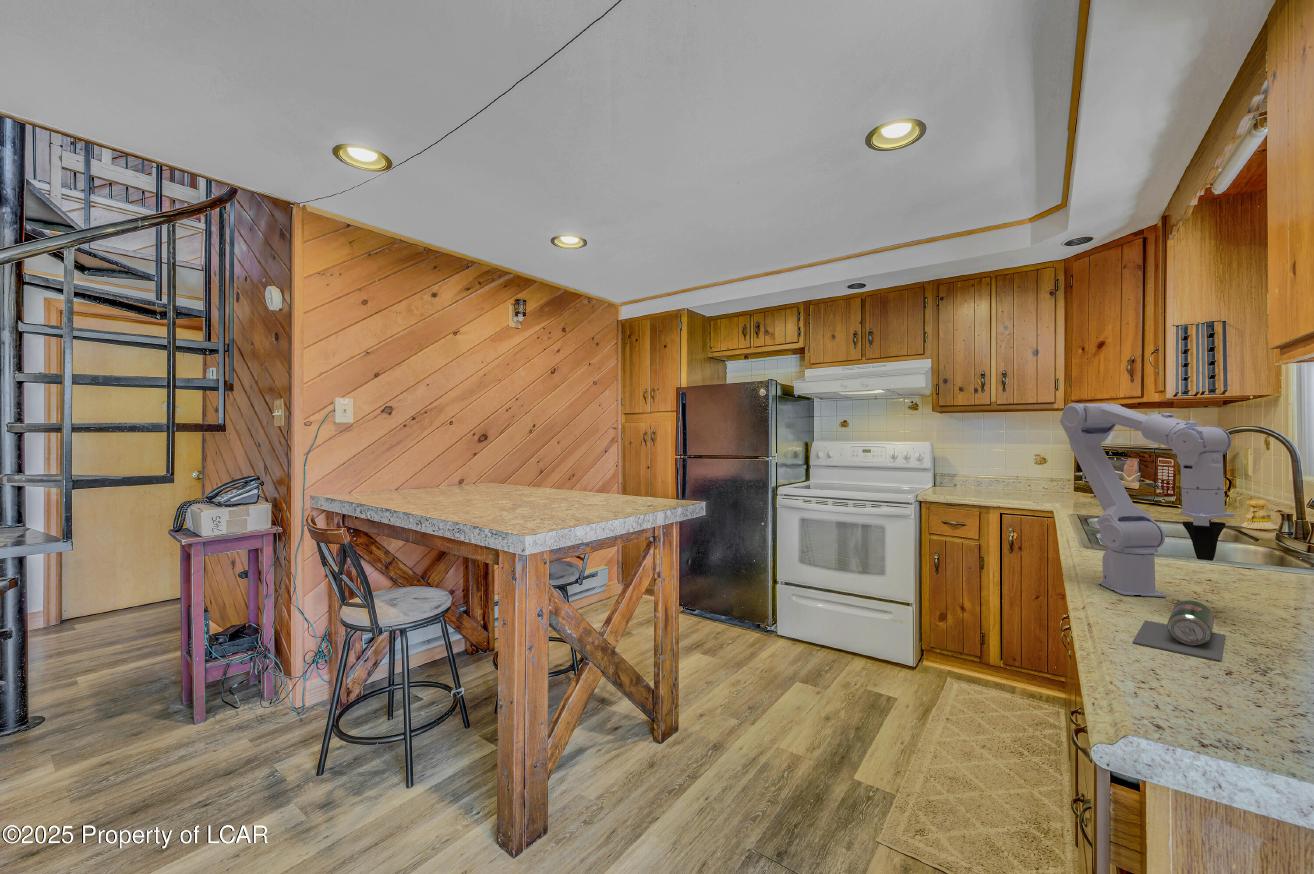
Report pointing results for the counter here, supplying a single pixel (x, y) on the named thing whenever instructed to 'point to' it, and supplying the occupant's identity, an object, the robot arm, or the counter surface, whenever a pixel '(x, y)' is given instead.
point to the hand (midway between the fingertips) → (1205, 559)
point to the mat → (1162, 639)
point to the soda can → (1191, 623)
